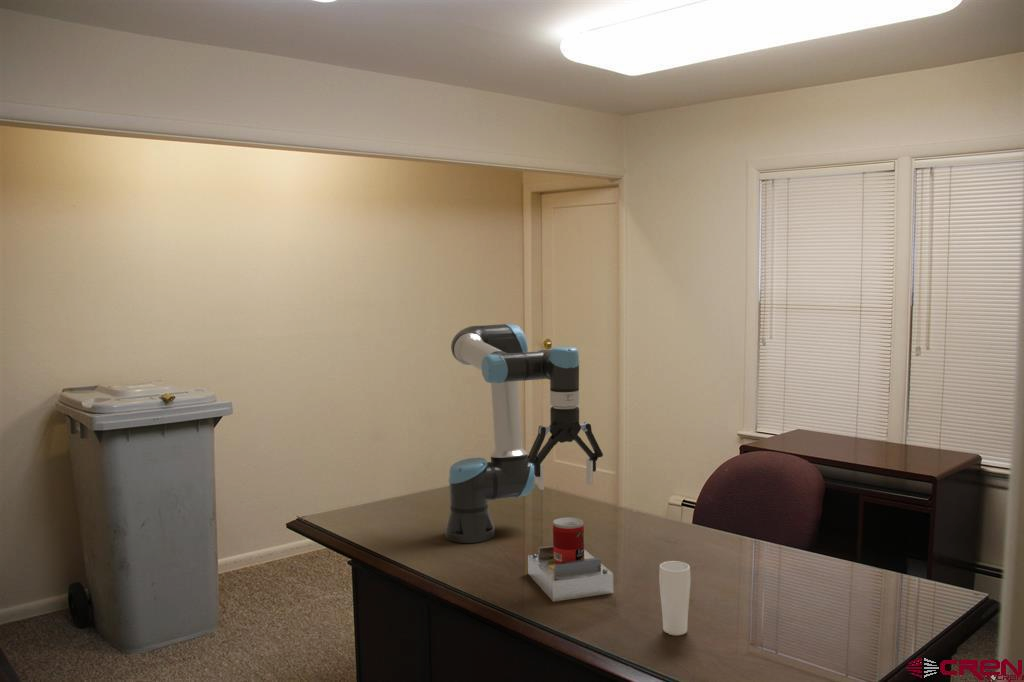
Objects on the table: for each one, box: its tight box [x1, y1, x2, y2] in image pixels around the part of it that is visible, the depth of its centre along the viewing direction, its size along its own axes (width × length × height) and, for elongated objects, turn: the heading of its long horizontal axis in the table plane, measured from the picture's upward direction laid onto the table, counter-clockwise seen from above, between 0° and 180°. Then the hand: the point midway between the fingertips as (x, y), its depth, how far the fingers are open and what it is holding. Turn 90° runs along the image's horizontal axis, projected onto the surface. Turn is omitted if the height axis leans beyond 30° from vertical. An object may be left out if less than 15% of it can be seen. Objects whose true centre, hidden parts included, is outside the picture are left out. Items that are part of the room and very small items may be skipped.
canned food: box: [552, 517, 585, 563], centre depth 213 cm, size 8×8×11 cm
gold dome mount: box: [527, 545, 614, 602], centre depth 214 cm, size 20×16×8 cm
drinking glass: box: [658, 560, 691, 636], centre depth 184 cm, size 7×7×15 cm
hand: (565, 486), depth 217 cm, fingers open, 13 cm apart
